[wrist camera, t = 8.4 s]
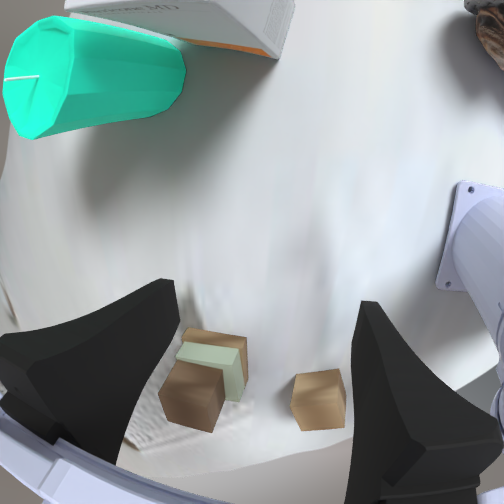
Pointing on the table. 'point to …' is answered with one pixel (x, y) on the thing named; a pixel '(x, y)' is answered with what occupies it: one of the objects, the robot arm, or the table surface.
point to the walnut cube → (193, 395)
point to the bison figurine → (489, 26)
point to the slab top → (217, 364)
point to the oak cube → (319, 400)
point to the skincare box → (203, 20)
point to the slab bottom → (220, 344)
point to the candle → (87, 76)
